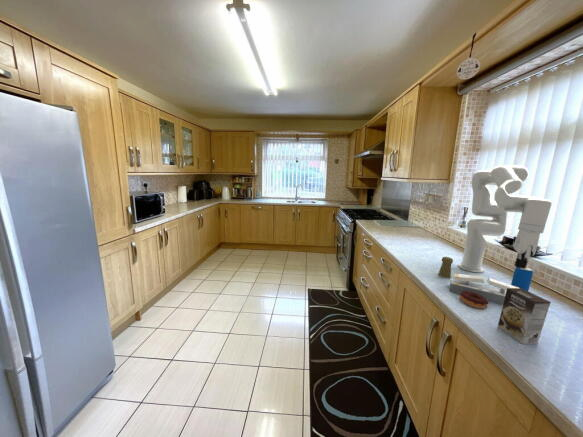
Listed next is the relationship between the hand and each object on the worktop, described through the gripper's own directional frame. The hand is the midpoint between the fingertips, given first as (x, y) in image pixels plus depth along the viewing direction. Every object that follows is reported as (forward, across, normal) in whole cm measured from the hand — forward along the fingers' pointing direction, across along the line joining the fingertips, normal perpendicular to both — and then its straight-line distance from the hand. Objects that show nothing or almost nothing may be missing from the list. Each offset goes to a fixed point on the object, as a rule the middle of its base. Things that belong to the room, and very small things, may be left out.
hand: (519, 267), depth 100 cm
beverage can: (+18, -18, +7) cm, 26 cm away
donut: (+17, +12, -15) cm, 26 cm away
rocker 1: (+10, +1, -17) cm, 20 cm away
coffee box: (+16, +30, -4) cm, 34 cm away
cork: (+18, -14, -25) cm, 34 cm away
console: (+17, +2, -10) cm, 20 cm away
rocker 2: (+10, +1, -4) cm, 11 cm away
